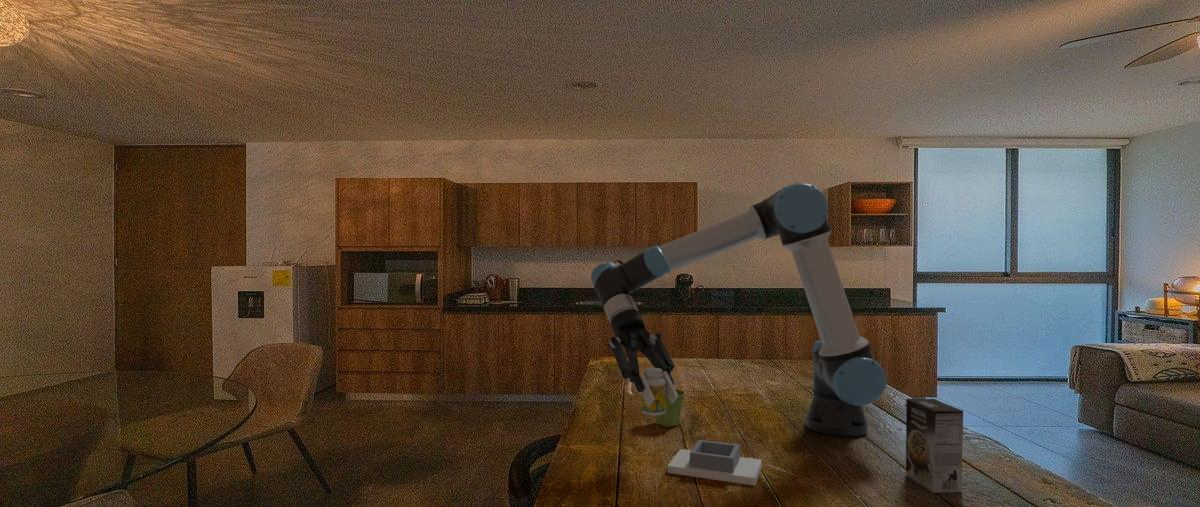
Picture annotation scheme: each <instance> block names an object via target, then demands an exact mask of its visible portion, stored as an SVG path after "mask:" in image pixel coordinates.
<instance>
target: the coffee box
mask: <svg viewBox="0 0 1200 507" xmlns="http://www.w3.org/2000/svg"><path fill="white" fill-rule="evenodd" d="M905 400H906V403H905V404H906V406H905V408H906V409H905V410H906V413H905V416H906V422H905V425H906V426H905V427H906V429H905V433H906V434H905V444H906V445H905V476H906V477H908V478H910V479H911V480H913V481H914V482H915V483H917V484H919V485H921V487H923V488H925V489H926V490H928V491H929V492H930V493H933V494H934V493H937V494H938V493H939V494H941V493H942V494H943V493H962V491H963V490H962V484H963V482H962V481H963V477H962V476H963V445H964V444H963V441H964V438H963V437H964V410H962V409H960V408H957V407H954V406H953V405H949V404H947V403H946V402H943V401H941V400H938V399H936V398H919V397H918V398H906V399H905Z"/></svg>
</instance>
